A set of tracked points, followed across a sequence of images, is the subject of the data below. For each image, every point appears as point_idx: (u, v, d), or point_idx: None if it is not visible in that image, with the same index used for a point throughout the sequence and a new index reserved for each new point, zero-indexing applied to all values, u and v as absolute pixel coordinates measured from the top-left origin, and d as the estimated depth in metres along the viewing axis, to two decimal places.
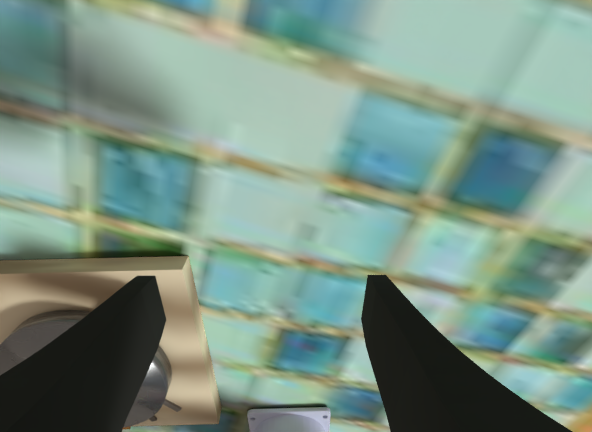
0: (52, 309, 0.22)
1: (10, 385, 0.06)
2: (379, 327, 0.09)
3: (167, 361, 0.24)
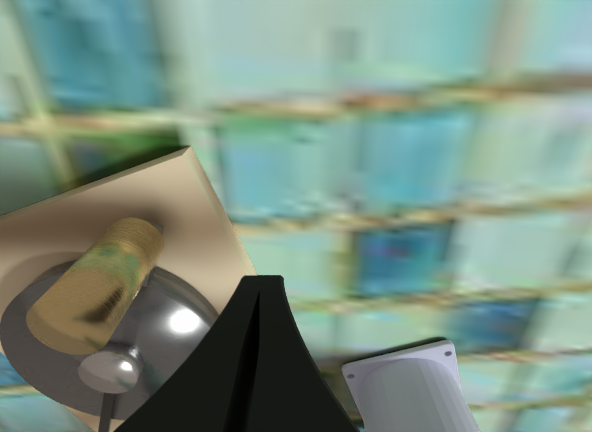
0: None
1: (192, 384, 0.06)
2: None
3: (212, 308, 0.18)
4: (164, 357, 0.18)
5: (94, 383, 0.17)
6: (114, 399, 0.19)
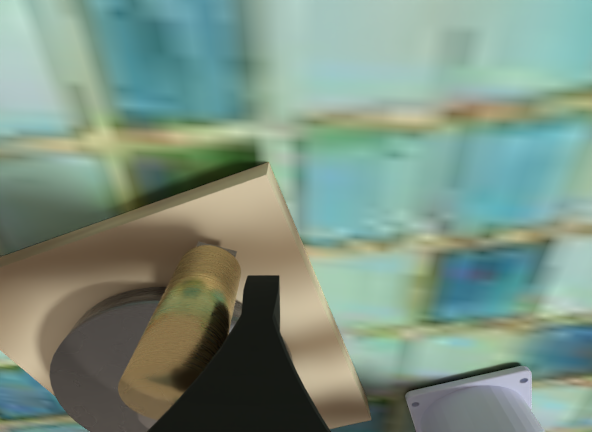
0: (105, 298, 0.15)
1: (220, 383, 0.06)
2: None
3: None
4: None
5: None
6: None
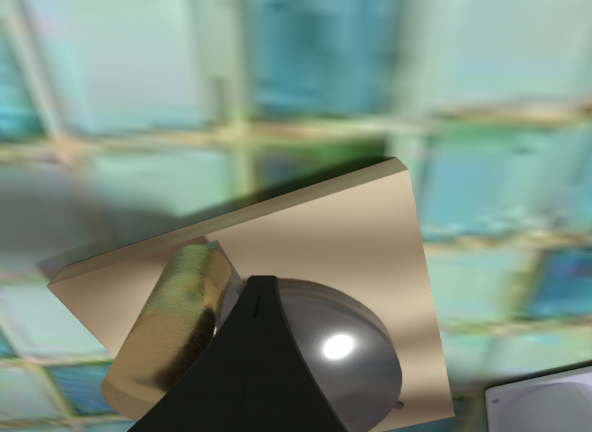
0: None
1: (203, 383, 0.06)
2: None
3: (331, 292, 0.15)
4: (322, 367, 0.15)
5: None
6: None
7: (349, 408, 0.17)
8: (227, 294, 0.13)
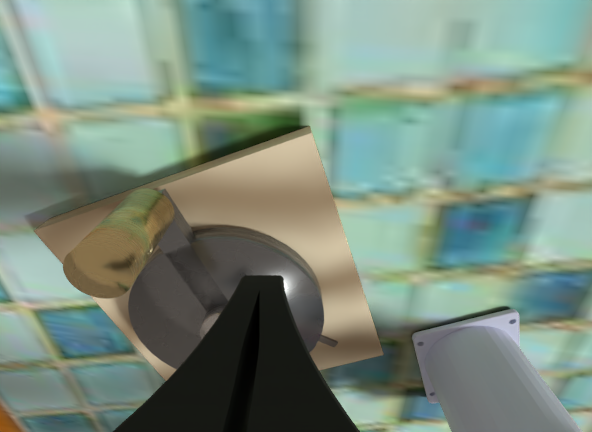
0: None
1: (192, 384, 0.06)
2: None
3: (261, 235, 0.18)
4: None
5: None
6: None
7: None
8: (173, 231, 0.17)
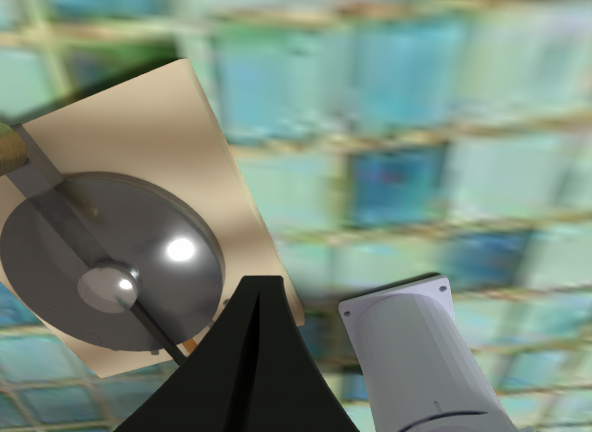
0: None
1: (192, 383, 0.06)
2: None
3: (142, 182, 0.17)
4: (140, 252, 0.17)
5: (107, 306, 0.18)
6: (153, 322, 0.20)
7: (180, 299, 0.19)
8: (30, 171, 0.15)
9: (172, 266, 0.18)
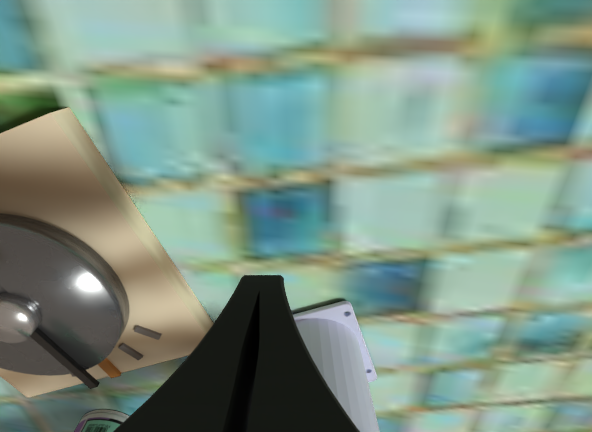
0: None
1: (192, 384, 0.06)
2: None
3: (32, 221, 0.18)
4: (34, 286, 0.18)
5: (5, 337, 0.19)
6: (58, 349, 0.21)
7: (81, 328, 0.20)
8: None
9: (67, 299, 0.19)
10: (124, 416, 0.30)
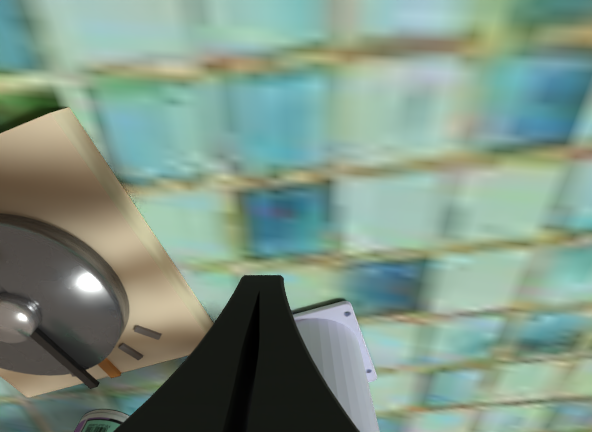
0: None
1: (192, 384, 0.06)
2: None
3: (32, 221, 0.18)
4: (34, 286, 0.18)
5: (5, 337, 0.19)
6: (58, 349, 0.21)
7: (81, 328, 0.20)
8: None
9: (67, 299, 0.19)
10: (124, 416, 0.30)
